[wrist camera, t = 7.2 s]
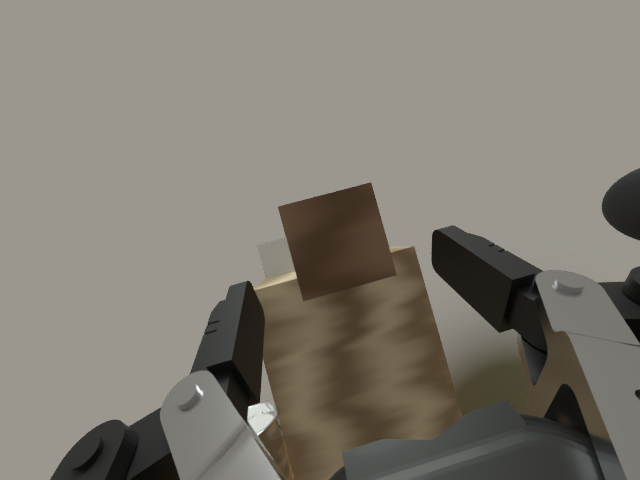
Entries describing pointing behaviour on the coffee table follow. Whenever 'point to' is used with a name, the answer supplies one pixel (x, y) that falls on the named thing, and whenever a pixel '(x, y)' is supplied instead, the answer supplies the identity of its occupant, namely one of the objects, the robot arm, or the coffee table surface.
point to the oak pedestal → (355, 366)
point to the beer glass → (270, 433)
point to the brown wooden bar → (337, 241)
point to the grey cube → (276, 258)
